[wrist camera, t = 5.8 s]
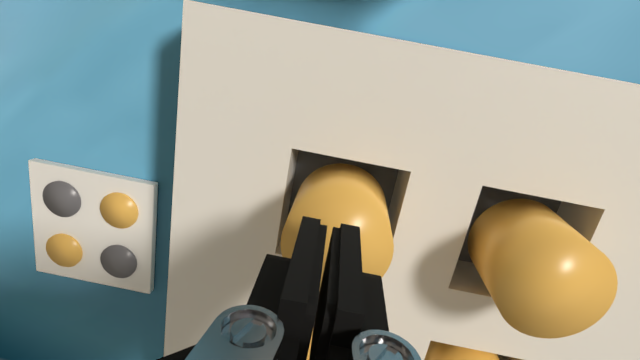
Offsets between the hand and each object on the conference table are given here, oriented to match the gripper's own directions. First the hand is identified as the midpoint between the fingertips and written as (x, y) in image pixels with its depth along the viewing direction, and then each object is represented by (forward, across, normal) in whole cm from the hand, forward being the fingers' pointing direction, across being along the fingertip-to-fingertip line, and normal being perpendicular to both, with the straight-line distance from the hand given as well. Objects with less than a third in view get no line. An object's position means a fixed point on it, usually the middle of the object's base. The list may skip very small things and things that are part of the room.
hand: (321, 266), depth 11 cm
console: (+7, -4, +3) cm, 9 cm away
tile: (+7, +11, +4) cm, 14 cm away
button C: (+5, 0, 0) cm, 5 cm away
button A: (+5, -7, 0) cm, 9 cm away
